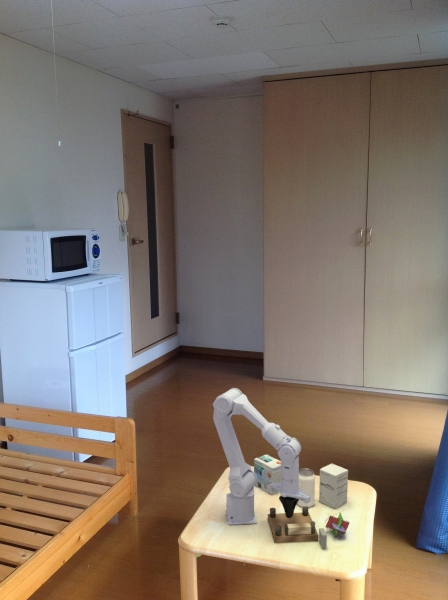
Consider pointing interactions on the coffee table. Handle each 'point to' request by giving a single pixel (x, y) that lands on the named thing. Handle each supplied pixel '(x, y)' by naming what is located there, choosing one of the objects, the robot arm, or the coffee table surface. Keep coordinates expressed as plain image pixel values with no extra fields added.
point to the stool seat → (280, 520)
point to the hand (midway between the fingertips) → (289, 516)
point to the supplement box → (333, 486)
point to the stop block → (322, 538)
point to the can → (307, 486)
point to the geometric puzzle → (337, 524)
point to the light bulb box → (267, 472)
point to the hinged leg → (300, 528)
